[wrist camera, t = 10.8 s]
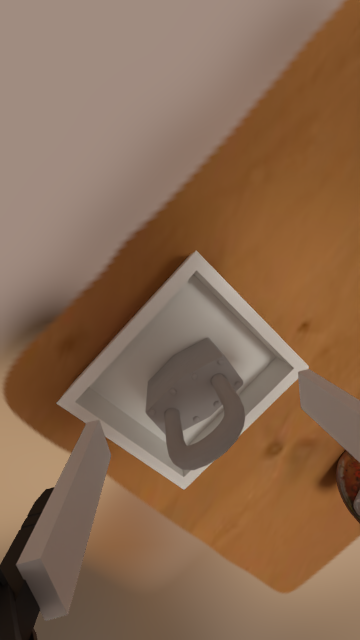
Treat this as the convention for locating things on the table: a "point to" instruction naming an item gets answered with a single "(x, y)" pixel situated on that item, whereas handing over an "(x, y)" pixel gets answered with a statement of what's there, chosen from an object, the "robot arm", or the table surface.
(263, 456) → the table surface
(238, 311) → the parts tray
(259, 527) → the table surface
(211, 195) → the table surface
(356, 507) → the tin
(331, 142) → the table surface
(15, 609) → the robot arm
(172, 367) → the padlock
